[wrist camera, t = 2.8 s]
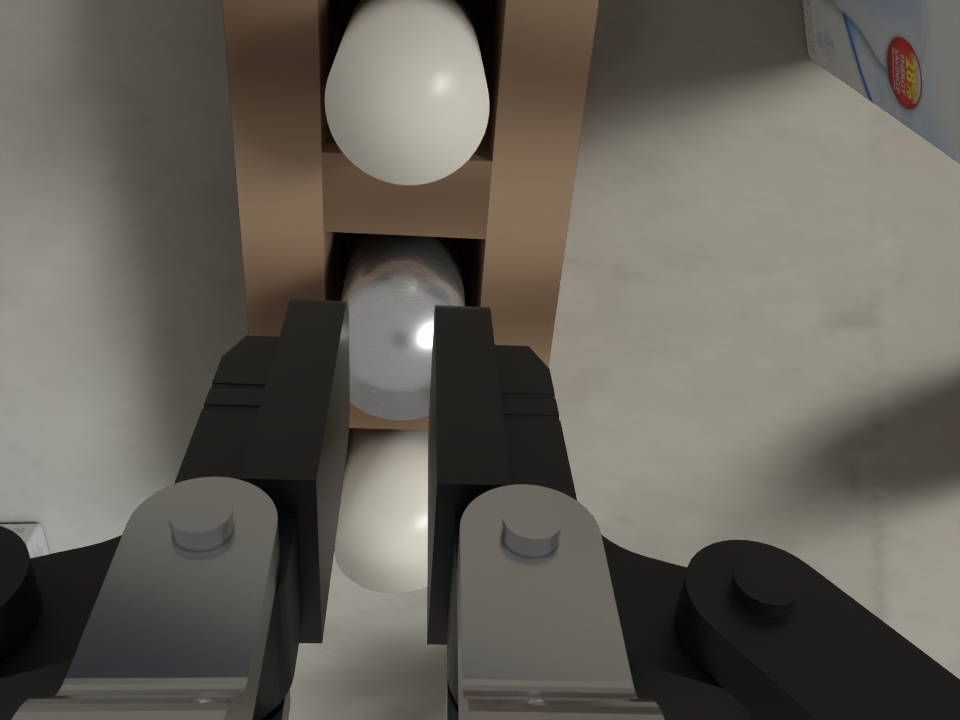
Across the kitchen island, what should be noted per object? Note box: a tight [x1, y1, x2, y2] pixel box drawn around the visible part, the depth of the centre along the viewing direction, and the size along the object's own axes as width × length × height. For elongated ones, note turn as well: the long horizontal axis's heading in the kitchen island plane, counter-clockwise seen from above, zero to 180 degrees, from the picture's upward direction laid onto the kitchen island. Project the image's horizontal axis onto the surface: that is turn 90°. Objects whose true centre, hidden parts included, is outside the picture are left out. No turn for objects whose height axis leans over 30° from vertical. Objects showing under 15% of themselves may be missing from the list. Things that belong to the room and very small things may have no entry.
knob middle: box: [341, 233, 465, 421], centre depth 28 cm, size 4×4×6 cm
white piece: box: [335, 428, 428, 593], centre depth 32 cm, size 4×4×6 cm
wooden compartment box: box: [222, 0, 599, 551], centre depth 31 cm, size 22×10×6 cm, turn 176°
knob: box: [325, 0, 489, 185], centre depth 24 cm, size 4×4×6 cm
